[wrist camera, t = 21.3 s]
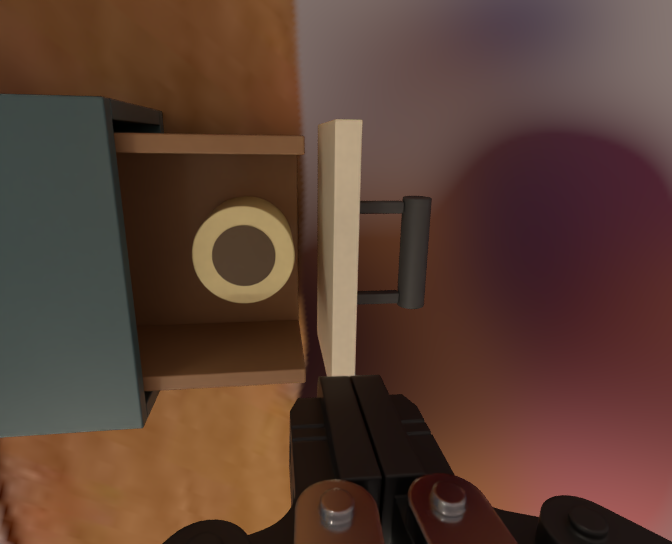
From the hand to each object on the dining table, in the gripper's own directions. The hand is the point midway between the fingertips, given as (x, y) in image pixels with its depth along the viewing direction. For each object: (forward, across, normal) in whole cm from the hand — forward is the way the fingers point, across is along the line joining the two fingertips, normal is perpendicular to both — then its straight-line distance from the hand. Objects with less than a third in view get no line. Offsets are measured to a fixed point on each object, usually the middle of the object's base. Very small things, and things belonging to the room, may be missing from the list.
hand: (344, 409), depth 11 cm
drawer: (+18, +3, -1) cm, 19 cm away
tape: (+17, +3, -1) cm, 18 cm away
